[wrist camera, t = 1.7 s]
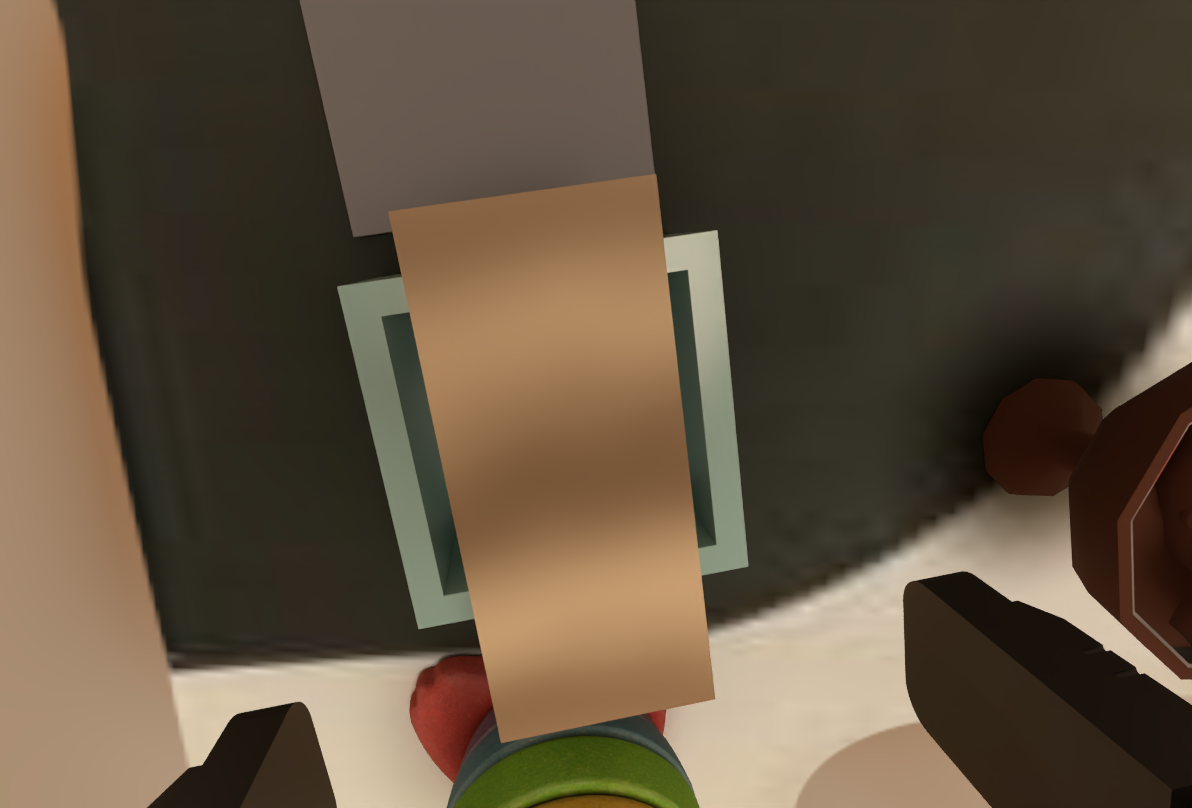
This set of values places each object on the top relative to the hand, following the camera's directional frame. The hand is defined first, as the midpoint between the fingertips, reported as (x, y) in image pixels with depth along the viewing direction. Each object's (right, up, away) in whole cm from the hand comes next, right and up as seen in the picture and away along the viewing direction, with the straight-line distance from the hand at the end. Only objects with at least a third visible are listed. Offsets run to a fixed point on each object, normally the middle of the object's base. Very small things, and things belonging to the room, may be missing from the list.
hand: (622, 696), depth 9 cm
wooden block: (-1, +3, +11) cm, 12 cm away
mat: (-4, +17, +14) cm, 22 cm away
